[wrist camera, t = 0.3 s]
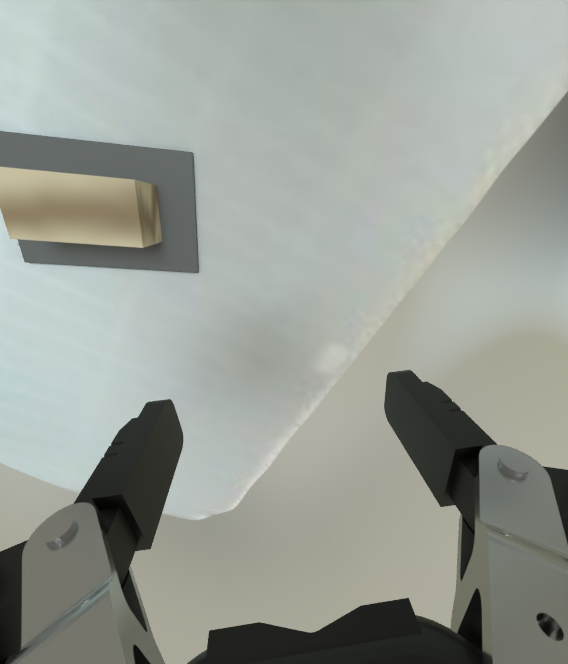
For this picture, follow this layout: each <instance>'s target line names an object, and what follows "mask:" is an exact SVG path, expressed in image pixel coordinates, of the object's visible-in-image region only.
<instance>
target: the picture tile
mask: <svg viewBox="0 0 568 664" xmlns="http://www.w3.org/2000/svg"><path fill="white" fill-rule="evenodd" d="M0 167H9V168H19V169H29V170H40V171H50V172H60V173H71V174H81V175H91V176H102V177H112V178H122V179H133V180H138V181H142V182H146V183H150V184H154V185H157V193H158V203H159V214H160V224H161V234H162V242H160V243H157V244H153V245H150V246H147V247H144V248H137V247H123V246H108V245H94V244H80V243H65V242H51V241H36V240H22V239H18V242H19V245H20V248H21V252H22V255H23V258H24V262H29V263H45V264H62V265H78V266H95V267H111V268H128V269H144V270H161V271H177V272H194V273H198V272H199V266H198V245H197V224H196V202H195V181H194V160H193V153H192V152H184V151H175V150H166V149H157V148H148V147H139V146H130V145H121V144H112V143H103V142H94V141H85V140H76V139H67V138H58V137H48V136H39V135H30V134H21V133H12V132H3V131H0Z"/></svg>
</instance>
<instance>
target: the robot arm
mask: <svg viewBox="0 0 568 664" xmlns="http://www.w3.org/2000/svg"><path fill="white" fill-rule="evenodd" d="M384 404H385V405H384V408H385V414H386V417H387V420H388V422H389V424H390V425H391V427H392V428H393V430H394V431H395V433H396V435H397V437H398V438H399V440H400V441H401V443H402V445H403V446H404V448H405V450H406V451H407V453H408V454H409V456H410V458H411V459H412V461H413V463H414V464H415V466H416V467H417V469H418V470H419V472H420V474H421V475H422V477H423V479H424V480H425V482H426V484H427V485H428V487H429V488H430V490H431V492H432V493H433V495H434V497H435V498H436V500H437V501H438V503H439V505H440V506H441V507H444V506H451V505H456V507H457V508H458V510H459V511H460V513H461V515H460V519H459V536H458V559H457V580H456V592H455V599H454V604H453V611H452V618H451V629H449V628H447V627H445V626H443V625H441V624H439V623H437V622H435V621H433V620H430V619H427V618H424V617H421V616H416V615H415V613H414V611H413V608H412V606H411V603H410V601H409V598H406V599H399V600H393V601H388V602H381V603H375V604H369V605H363V606H360V607H358V608H356V609H355V610H353V611H351V612H350V613H348V614H346V615H344V616H343V617H341V618H339V619H337V620H336V621H334V622H332V623H331V624H329V625H327V626H325V627H324V628H322V629H320V630H319V631H316V632H313V633H307V632H303V631H298V630H293V629H288V628H284V627H278V626H274V625H269V624H265V623H253V624H247V625H241V626H235V627H229V628H223V629H217V630H210V631H209V638H208V646H207V650H206V651H204V652H202V653H201V654H199V655H198V656H196V657H195V658H194V659H193V660H191V661H190V662H188V663H187V664H568V470H564V469H557V468H549V467H543V466H541V464H539V463H538V462H537V461H536V460H535V459H533V458H532V457H530V456H528V455H527V454H525V453H523V452H521V451H519V450H517V449H514V448H511V447H507V446H503V445H497V444H496V443H495V442H494V441H493V440H492V439H491V438H490V437H489V436H488V435H487V434H486V433H485V432H484V431H483V430H482V429H481V428H480V427H479V426H478V425H477V424H476V423H475V422H474V421H473V420H472V419H471V418H470V417H469V416H468V415H467V414H466V413H465V412H464V411H461V410H460V407H459V406H458V405H456V404H455V403H454V402H452V400H451V399H450V398H449V397H448V396H447V395H446V394H445V393H444V392H443V391H442V390H441V389H439V388H438V387H436V386H434V385H432V384H430V383H428V382H422V381H421V380H420V379H419V378H418V377H417V376H416V375H415V374H414V373H413V372H412V371H410V370H405V371H397V372H390V373H388V375H387V382H386V392H385V403H384ZM182 447H183V432H182V428H181V425H180V422H179V419H178V416H177V413H176V410H175V407H174V404H173V402H172V400H170V399H168V400H160V401H152V402H148V403H146V405H145V406H144V408H143V410H142V411H141V413H140V415H139V417H138V418H132V419H131V420H130V421H129V422H128V423H127V424H126V425H125V426H124V427H123V428H122V429H120V430H119V432H118V434H117V435H116V437H115V438H114V440H113V441H112V443H111V446H109V448H108V449H107V451H106V453H105V454H104V457H103V458H102V459H101V461H100V462H99V464H98V465H97V467H96V469H95V470H94V472H93V473H92V475H91V477H90V478H89V480H88V481H87V483H86V485H85V486H84V488H83V489H82V491H81V493H80V494H79V496H78V497H77V499H76V501H75V502H74V504H72V505H69V506H67V507H65V508H63V509H61V510H59V511H57V512H56V513H54V514H53V515H52V516H50V517H49V518H47V519H46V520H45V521H44V522H43V523H42V524H41V525H40V526H39V527H38V528H37V529H36V530H35V531H34V533H33V534H32V535H31V537H30V538H29V540H27V541H24V542H22V543H20V544H17V545H15V546H13V547H10V548H8V549H6V550H3V551H1V552H0V664H165V663H164V660H163V658H162V656H161V653H160V651H159V649H158V647H157V645H156V642H155V640H154V637H153V634H152V631H151V628H150V625H149V622H148V619H147V616H146V612H145V609H144V606H143V603H142V600H141V597H140V594H139V591H138V587H137V584H136V581H135V578H134V575H133V571H132V569H131V567H130V564H131V561H132V558H133V556H134V553H135V551H139V550H146V549H151V546H152V543H153V539H154V536H155V533H156V530H157V527H158V524H159V520H160V517H161V514H162V511H163V508H164V505H165V501H166V498H167V495H168V492H169V489H170V486H171V482H172V479H173V476H174V473H175V470H176V467H177V463H178V460H179V457H180V454H181V451H182Z"/></svg>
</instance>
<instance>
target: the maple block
mask: <svg viewBox="0 0 568 664" xmlns="http://www.w3.org/2000/svg"><path fill="white" fill-rule="evenodd" d="M0 208H1V211H2V214H3V218H4V221H5V224H6V227H7V230H8V234H9V237H10V239H22V240H36V241H51V242H65V243H80V244H94V245H108V246H123V247H137V248H144V247H147V246H150V245H153V244H157V243H160V242H162V234H161V224H160V214H159V203H158V193H157V185H154V184H150V183H146V182H142V181H138V180H133V179H122V178H112V177H102V176H91V175H81V174H71V173H60V172H50V171H40V170H29V169H19V168H9V167H0Z"/></svg>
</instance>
